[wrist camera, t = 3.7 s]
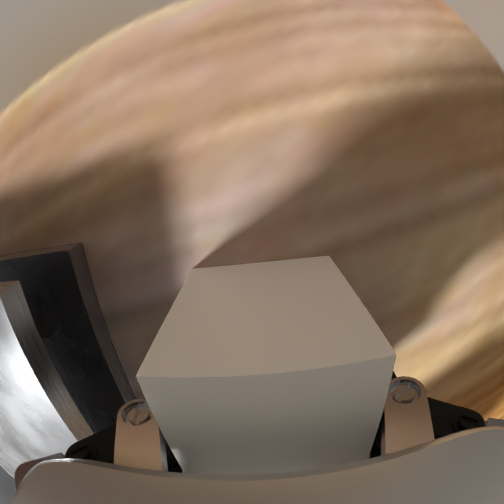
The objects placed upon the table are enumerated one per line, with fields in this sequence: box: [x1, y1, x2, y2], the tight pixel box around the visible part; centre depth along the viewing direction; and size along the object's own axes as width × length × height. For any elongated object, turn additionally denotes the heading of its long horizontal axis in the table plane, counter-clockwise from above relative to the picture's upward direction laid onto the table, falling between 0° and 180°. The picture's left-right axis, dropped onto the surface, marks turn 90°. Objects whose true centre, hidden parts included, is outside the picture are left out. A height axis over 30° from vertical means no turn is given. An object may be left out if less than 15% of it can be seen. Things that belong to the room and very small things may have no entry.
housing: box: [136, 256, 396, 475], centre depth 9 cm, size 5×7×6 cm
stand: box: [0, 243, 136, 478], centre depth 11 cm, size 14×16×5 cm
